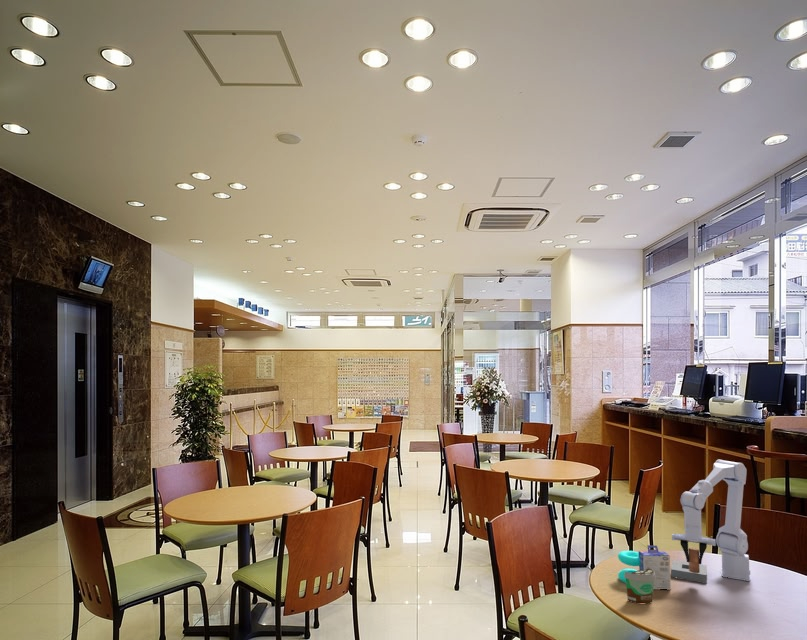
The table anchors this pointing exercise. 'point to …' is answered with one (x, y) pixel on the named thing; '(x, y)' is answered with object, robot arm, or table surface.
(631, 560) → the donuts
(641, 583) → the food container
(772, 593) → the table surface
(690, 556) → the peg
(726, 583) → the table surface
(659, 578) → the ink cartridge box
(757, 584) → the table surface
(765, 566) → the table surface
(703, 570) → the socket block
